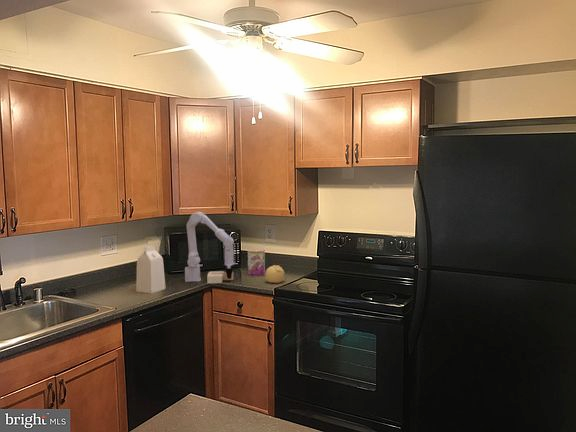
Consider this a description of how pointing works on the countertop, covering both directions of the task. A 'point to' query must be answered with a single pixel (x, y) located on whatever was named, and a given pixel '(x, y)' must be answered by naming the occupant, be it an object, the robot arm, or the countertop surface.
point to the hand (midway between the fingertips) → (229, 277)
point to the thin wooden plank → (224, 275)
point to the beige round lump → (274, 274)
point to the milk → (150, 271)
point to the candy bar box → (256, 262)
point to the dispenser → (214, 277)
